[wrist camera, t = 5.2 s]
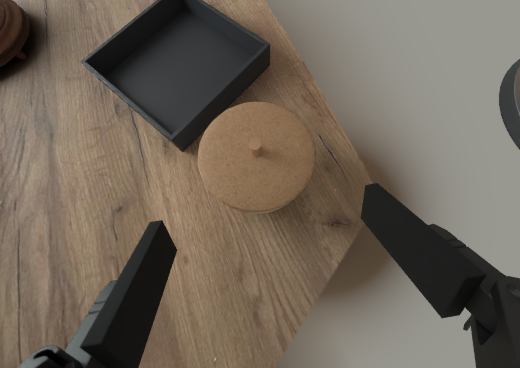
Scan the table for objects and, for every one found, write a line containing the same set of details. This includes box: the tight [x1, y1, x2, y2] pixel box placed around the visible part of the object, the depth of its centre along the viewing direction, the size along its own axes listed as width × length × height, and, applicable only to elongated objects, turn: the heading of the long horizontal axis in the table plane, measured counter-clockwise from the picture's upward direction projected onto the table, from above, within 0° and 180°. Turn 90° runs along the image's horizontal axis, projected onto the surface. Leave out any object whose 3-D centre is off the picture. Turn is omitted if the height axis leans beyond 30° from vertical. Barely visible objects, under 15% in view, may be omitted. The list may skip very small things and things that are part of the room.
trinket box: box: [198, 102, 316, 214], centre depth 21 cm, size 11×11×9 cm
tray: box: [81, 0, 270, 152], centre depth 29 cm, size 18×18×3 cm
